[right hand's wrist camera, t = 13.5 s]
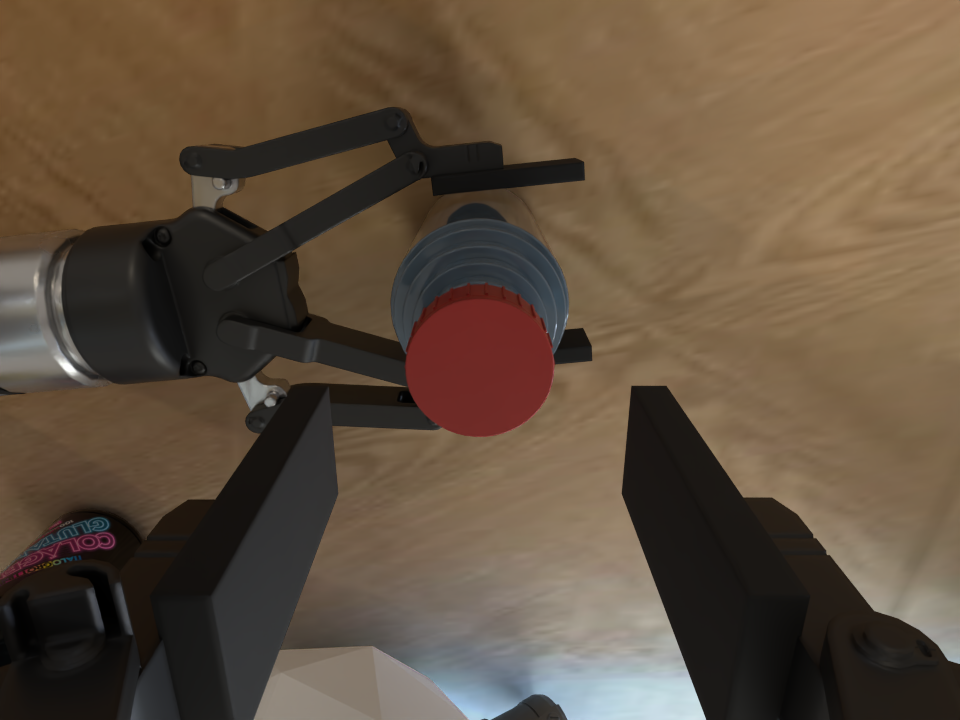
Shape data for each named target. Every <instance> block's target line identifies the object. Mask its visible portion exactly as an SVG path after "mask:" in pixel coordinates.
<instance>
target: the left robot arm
mask: <svg viewBox="0 0 960 720" xmlns="http://www.w3.org/2000/svg"><path fill="white" fill-rule="evenodd" d="M385 140H387V141H388V143H389V145H390V147H391V149H392V151H393V152H394V154H395V156H396V159H395V160H393V161H391V162H389V163H387V164H386V165H384V166H382V167H380V168H379V169H377V170H375V171H373V172H372V173H370V174H368V175H366V176H365V177H363V178H361V179H359V180H358V181H356V182H354V183H352V184H351V185H349V186H347V187H345V188H344V189H342V190H340V191H338V192H337V193H335V194H333V195H331V196H330V197H328V198H326V199H324V200H323V201H321V202H319V203H317V204H316V205H314V206H312V207H310V208H309V209H307V210H305V211H303V212H302V213H300V214H298V215H296V216H295V217H293V218H291V219H289V220H288V221H286V222H284V223H282V224H280V225H279V226H277V227H275V228H273V229H272V230H270V231H266V230H264V229H262V228H261V227H259V226H257V225H255V224H253V223H251V222H250V221H248V220H246V219H244V218H242V217H241V216H239V215H237V214H235V213H233V212H231V211H230V210H228V209H226V208H224V207H223V201H224V198H225V197H226V196H227V195H231V194H234V193H237V192H239V191H241V190H242V189H243V188H244V186H245V178H247V177H252V176H256V175H260V174H264V173H267V172H271V171H275V170H279V169H282V168H286V167H290V166H293V165H297V164H301V163H304V162H308V161H312V160H315V159H319V158H323V157H326V156H330V155H334V154H337V153H341V152H345V151H348V150H352V149H356V148H359V147H363V146H367V145H371V144H374V143H378V142H382V141H385ZM179 161H180V165H181V167H182V168H183V170H184V171H185V172H187V173H188V174H190V175H191V181H192V198H193V208H190V209H188V210H187V211H185V212H184V213H183V214H182V215H181V216H179V217H178V218H175V219H168V220H159V221H149V222H139V223H129V224H120V225H110V226H100V227H94V228H91V229H89V230H87V231H82V230H77V229H70V230H61V231H52V232H43V233H33V234H24V235H15V236H5V237H0V396H2V395H11V394H25V393H33V392H46V391H58V390H70V389H82V388H94V387H103V386H108V385H110V384H111V383H116V384H135V383H145V382H156V381H167V380H177V379H187V378H194V377H201V376H214V377H218V378H222V379H224V380H227V381H229V382H234V383H238V386H239V388H240V390H241V392H242V394H243V396H244V398H245V400H246V402H247V404H248V406H249V409H250V413H249V414H248V415H247V417H246V420H245V422H246V426H247V427H248V429H249V430H251V431H252V432H255V433H262V431H263V430H264V428H265V427H266V425H267V424H268V423H269V421H270V420H271V418H272V417H273V415H274V414H275V412H276V411H277V409H278V408H279V407H280V405H281V404H282V402H283V401H284V399H285V398H286V396H287V395H288V393H289V392H290V391H291V389H292V388H293V386H329V397H330V408H331V419H332V426H350V427H372V428H395V429H417V430H438V429H440V428H442V427H441V426H439V425H437V424H436V423H435V422H433V421H432V420H431V419H429V418H428V417H427V416H426V415H425V414H424V413H423V412H422V411H421V409H420V408H419V407H418V406H417V404H416V403H415V401H414V399H413V397H412V395H411V393H410V391H409V388H408V385H407V380H406V374H405V362H406V354H405V352H404V350H403V348H402V346H401V344H400V342H397V341H393V340H390V339H386V338H382V337H379V336H375V335H372V334H368V333H364V332H361V331H357V330H354V329H350V328H347V327H343V326H339V325H336V324H332V323H330V322H329V321H328V320H327V319H325V318H323V317H320V316H316V315H313V314H309V313H308V309H307V304H306V299H305V297H304V295H303V293H302V291H301V289H300V287H299V285H298V277H299V265H298V260H297V255H296V252H293V253H292V251H293V250H295V249H296V248H298V247H300V246H301V245H303V244H305V243H307V242H308V241H310V240H312V239H314V238H316V237H317V236H319V235H321V234H323V233H325V232H326V231H328V230H330V229H332V228H333V227H335V226H337V225H339V224H341V223H342V222H344V221H346V220H348V219H350V218H351V217H353V216H355V215H357V214H358V213H360V212H362V211H364V210H366V209H367V208H369V207H371V206H373V205H375V204H376V203H378V202H380V201H382V200H383V199H385V198H387V197H389V196H391V195H392V194H394V193H396V192H398V191H400V190H401V189H403V188H405V187H407V186H408V185H410V184H412V183H414V182H416V181H417V180H420V179H422V178H431V181H432V190H433V196H436V195H446V194H456V193H465V192H475V191H485V190H495V189H504V188H514V187H524V186H534V185H543V184H553V183H563V182H573V181H582V180H585V173H584V162H583V161H581V160H579V159H576V158H570V159H561V160H551V161H541V162H532V163H522V164H512V165H503V154H502V145H501V144H498V143H494V142H491V141H484V142H474V143H465V144H455V145H446V146H431V145H428V144H427V143H425V142H424V141H423V140H422V139H421V137H420V135H419V133H418V131H417V129H416V127H415V125H414V123H413V121H412V117H411V115H410V113H409V112H408V111H407V110H405V109H403V108H397V107H388V108H385V109H381V110H377V111H374V112H370V113H367V114H363V115H359V116H356V117H352V118H349V119H345V120H341V121H338V122H334V123H330V124H327V125H323V126H320V127H316V128H312V129H309V130H305V131H302V132H298V133H294V134H291V135H287V136H283V137H280V138H276V139H273V140H269V141H265V142H262V143H258V144H254V145H251V146H247V147H239V146H230V145H220V144H209V145H198V146H191V147H186V148H185V149H183V150H182V152H181V153H180V158H179ZM276 356H279V357H283V358H286V359H290V360H294V361H298V362H302V363H309V362H318V363H322V364H325V365H329V366H333V367H336V368H340V369H344V370H347V371H351V372H355V373H358V374H362V375H366V376H370V377H373V378H377V379H381V380H384V381H388V382H392V383H395V384H399V385H403V386H406V387H391V386H369V385H347V384H325V383H302V384H295V385H291V386H290V384H289V382H288V380H286V379H280V378H279V379H272V378H269V377H267V376H265V375H264V374H263V373H262V371H261V370H262V369H263V368H264V367H265V366H266V365H267V364H268V363H269V362H270V361H272V360H273V359H274V358H275V357H276ZM553 357H554V361H555V364H564V363H574V362H585V361H592V346H591V344H590V342H589V340H588V338H587V335H586V333H585V331H584V329H583V328H578V329H568V330H565V331H564V334H563V336H562V338H561V341H560V343H559V345H558V347H557V349H556V351H555V353H554V354H553Z"/></svg>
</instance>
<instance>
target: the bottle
mask: <svg viewBox="0 0 960 720" xmlns="http://www.w3.org/2000/svg"><path fill="white" fill-rule="evenodd" d="M467 283H470V285H475V284H485V283H488V285H493V286H497V287H501V288H502V286H504V287H505V289H507V290H509V291H511V292H513V293H515V294H518V293H519V294H521V298H523V299H524V300H525V301H527V302H528V303H529V304H530V305H531V304H533V305H534V309H535V311H536V312H537V314H538V315H539V317H540V318H543V320H544V323H545V326H546V330H547V333H549V335H550V338H551V342H552V345H553V348H551V349H552V353H553V354H554V353H555V351H556V349H557V347H558V345H559V343H560V341H561V338H562V336H563V334H564V331H565V328H566V324H567V319H568V312H569V297H568V289H567V285H566V280H565V278H564V275H563V272H562V270H561V268H560V266H559V264H558V262H557V260H556V258H555V256H554V255H553V253H552V251H551V249H550V247H549V245H548V243H547V241H546V239H545V238H544V236H543V234H542V232H541V230H540V228H539V226H538V224H537V222H536V220H535V219H534V217H533V215H532V213H531V211H530V210H529V208H528V207H527V205H526V204H525V203H524V202H523V201H522V200H521V199H520V198H519V197H518V196H516V195H515V194H514V193H512V192H511V191H509V190H507V189H505V188H504V189H495V190H485V191H475V192H465V193H456V194H446V195H443V196H442V197H441V198H440V199H439V200H438V201H437V202H436V203H435V204H434V205H433V206H432V208H431V209H430V211H429V212H428V214H427V216H426V218H425V220H424V222H423V224H422V225H421V227H420V229H419V231H418V233H417V235H416V237H415V239H414V241H413V242H412V244H411V246H410V248H409V250H408V252H407V254H406V256H405V258H404V259H403V261H402V263H401V265H400V267H399V269H398V271H397V274H396V277H395V279H394V283H393V287H392V293H391V316H392V321H393V326H394V329H395V332H396V335H397V337H398V339H399V342H400V344H401V346H402V348H403V350H404V352H405V351H406V347H407V344H408V341H409V338H410V337H412V336H410V335H411V332H412V329H413V325H414V323H415V321H416V322H417V321H418V319H419V318H420V316H421V314H422V311H423V308H424V307H425V308H427V307H428V306H429V305H430V304H431V303H432V302H433V301H434V300H435V297H436V296H438V297H439V296H441V295H443V294H445V293H446V292H448V291H450V288H453V289H455V288H458V287H462V286H467ZM405 354H406V355H407V352H405Z"/></svg>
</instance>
